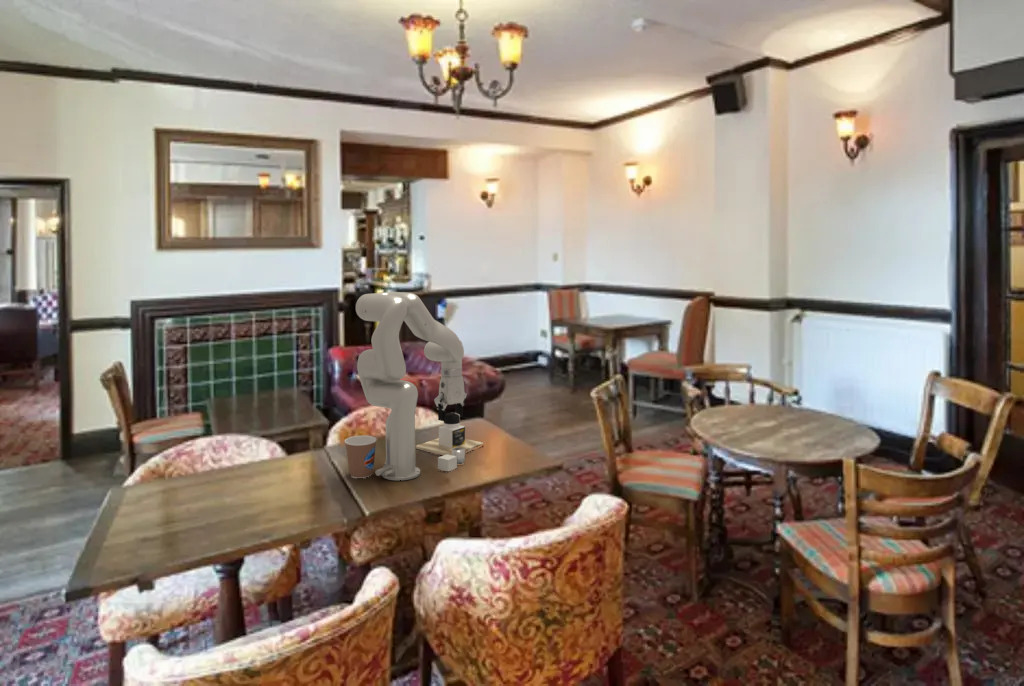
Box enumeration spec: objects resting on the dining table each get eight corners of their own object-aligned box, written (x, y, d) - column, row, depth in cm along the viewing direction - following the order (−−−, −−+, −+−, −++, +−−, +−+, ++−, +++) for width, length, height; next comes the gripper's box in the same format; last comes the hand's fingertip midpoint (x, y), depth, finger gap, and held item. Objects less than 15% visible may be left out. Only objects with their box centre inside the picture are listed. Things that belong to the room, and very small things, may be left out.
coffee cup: (369, 481, 204) (369, 445, 202) (339, 479, 206) (338, 443, 204) (382, 471, 214) (381, 436, 212) (353, 468, 216) (353, 434, 214)
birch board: (452, 458, 228) (452, 454, 228) (415, 449, 238) (415, 445, 238) (483, 446, 242) (483, 442, 242) (447, 438, 253) (447, 434, 252)
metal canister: (459, 466, 219) (459, 452, 219) (449, 464, 222) (449, 450, 221) (467, 463, 223) (467, 449, 222) (457, 460, 226) (457, 447, 225)
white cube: (448, 472, 213) (448, 459, 213) (438, 470, 216) (438, 457, 215) (456, 469, 217) (456, 456, 216) (446, 466, 219) (446, 454, 219)
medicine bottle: (452, 448, 234) (452, 417, 233) (438, 445, 238) (438, 414, 237) (465, 444, 240) (465, 413, 238) (451, 441, 244) (451, 410, 242)
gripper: (443, 376, 226) (443, 423, 228) (474, 371, 240) (473, 416, 242) (428, 374, 231) (427, 420, 232) (458, 369, 245) (457, 413, 246)
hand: (450, 418), depth 237 cm, fingers open, 9 cm apart
